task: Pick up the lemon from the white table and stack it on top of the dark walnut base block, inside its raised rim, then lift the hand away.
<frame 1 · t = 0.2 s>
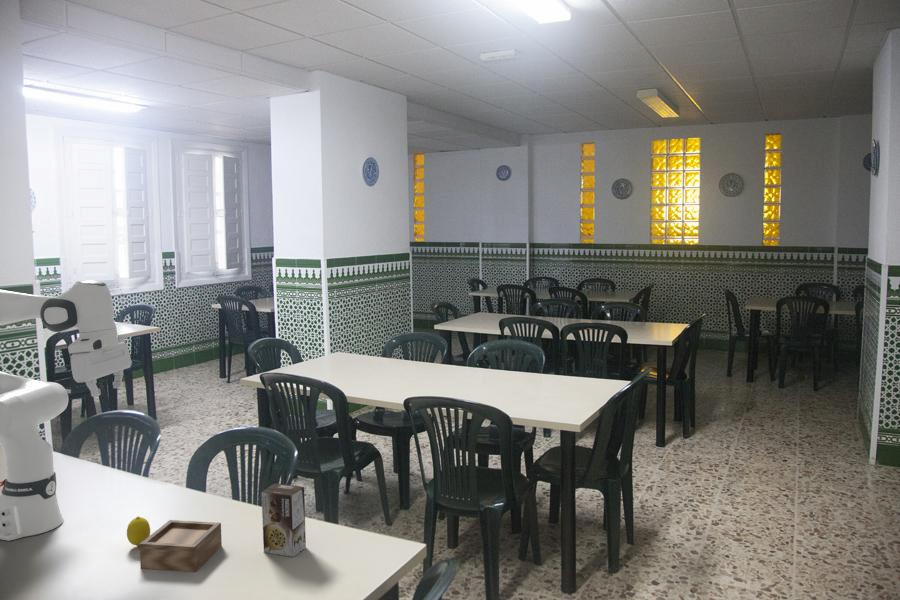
hand: (107, 391, 185), 39 cm above the table, tool pointing down, fingers open, 8 cm apart
lemon: (139, 547, 179), on the table
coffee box: (284, 550, 178), on the table
walnut base: (182, 556, 174), on the table
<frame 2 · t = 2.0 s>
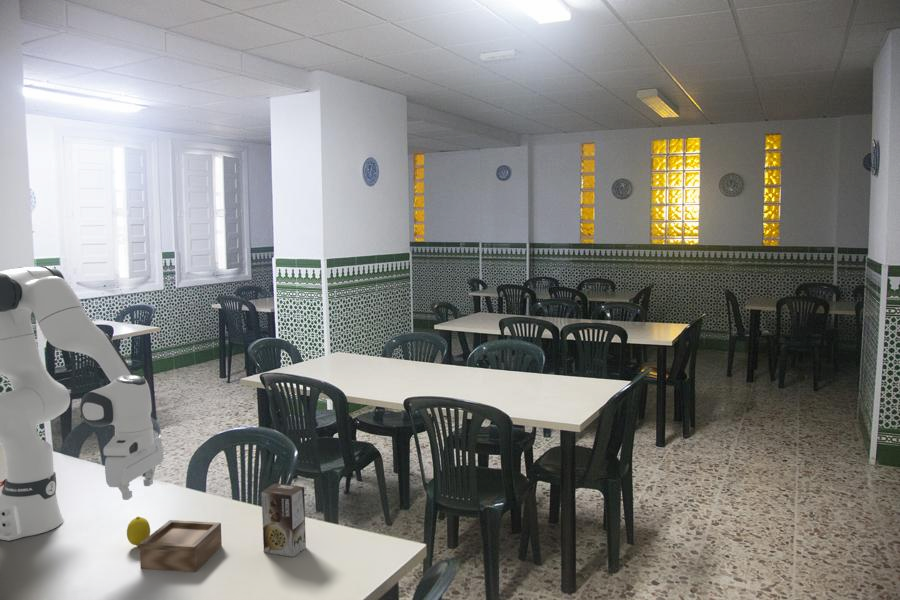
hand: (138, 491, 178), 15 cm above the table, tool pointing down, fingers open, 8 cm apart
nothing on the table moved.
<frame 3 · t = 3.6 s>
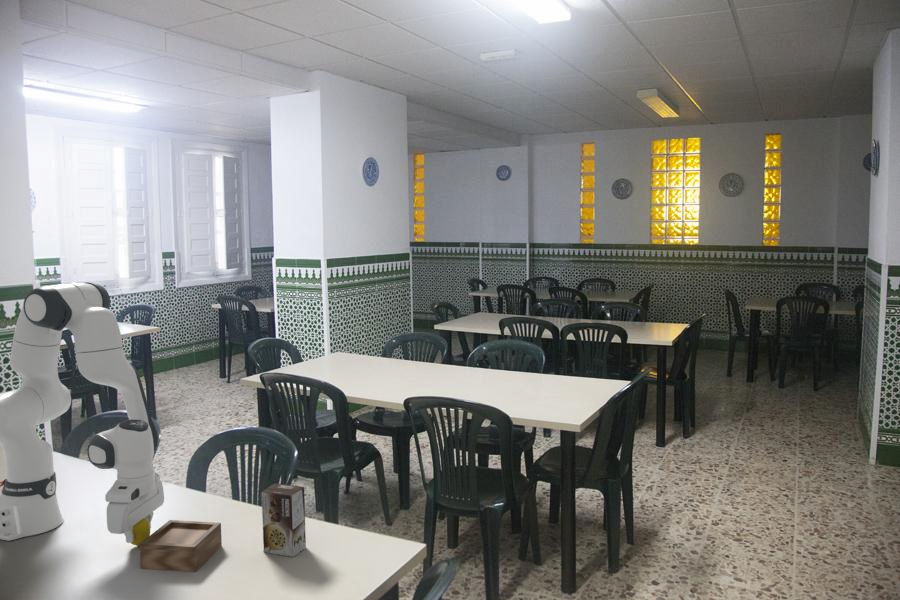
hand: (138, 535, 179), 3 cm above the table, tool pointing down, fingers closed on lemon, 6 cm apart
lemon: (139, 547, 179), on the table, touching gripper
everything else where it was.
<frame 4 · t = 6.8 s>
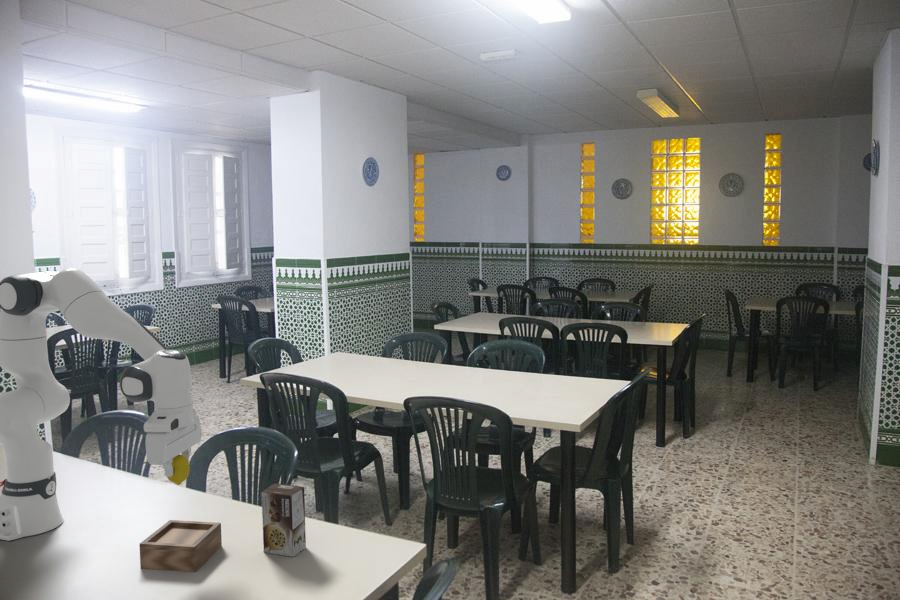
hand: (177, 470, 172), 22 cm above the table, tool pointing down, fingers closed on lemon, 6 cm apart
lemon: (178, 485, 172), point 18 cm above the table, touching gripper
everything else where it was.
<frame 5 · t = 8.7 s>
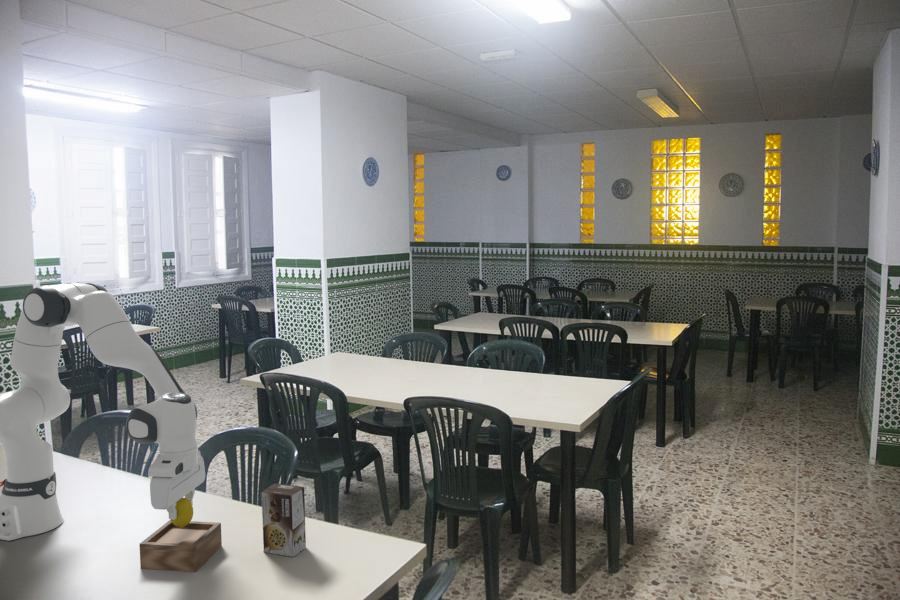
hand: (181, 512, 173), 11 cm above the table, tool pointing down, fingers closed on lemon, 6 cm apart
lemon: (182, 528, 173), point 7 cm above the table, touching gripper
everything else where it was.
when the fingers open (9 cm above the table, at t = 10.0 s): lemon stays where it is, resting on walnut base.
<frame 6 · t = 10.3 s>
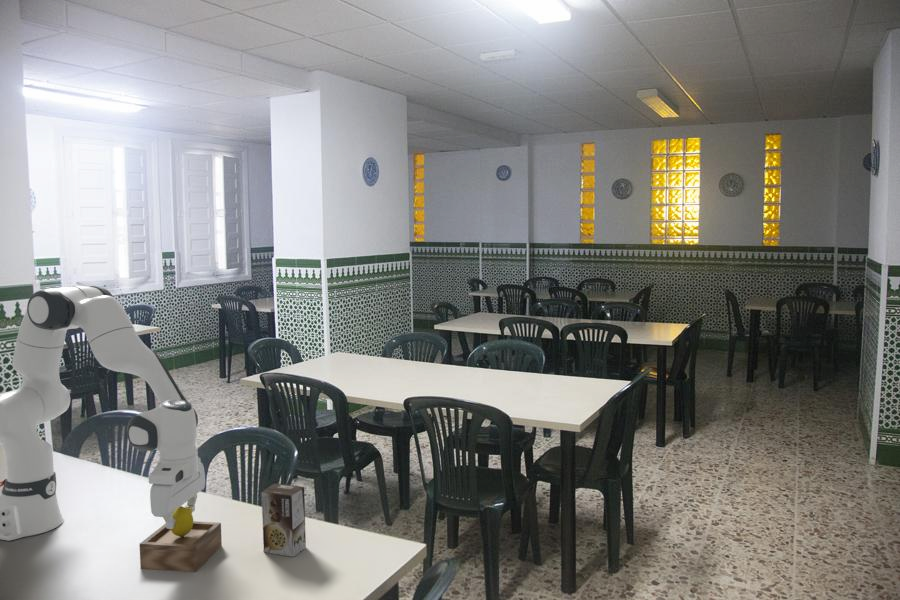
hand: (181, 519, 173), 10 cm above the table, tool pointing down, fingers open, 8 cm apart
lemon: (182, 538, 173), point 5 cm above the table, touching walnut base
everything else where it was.
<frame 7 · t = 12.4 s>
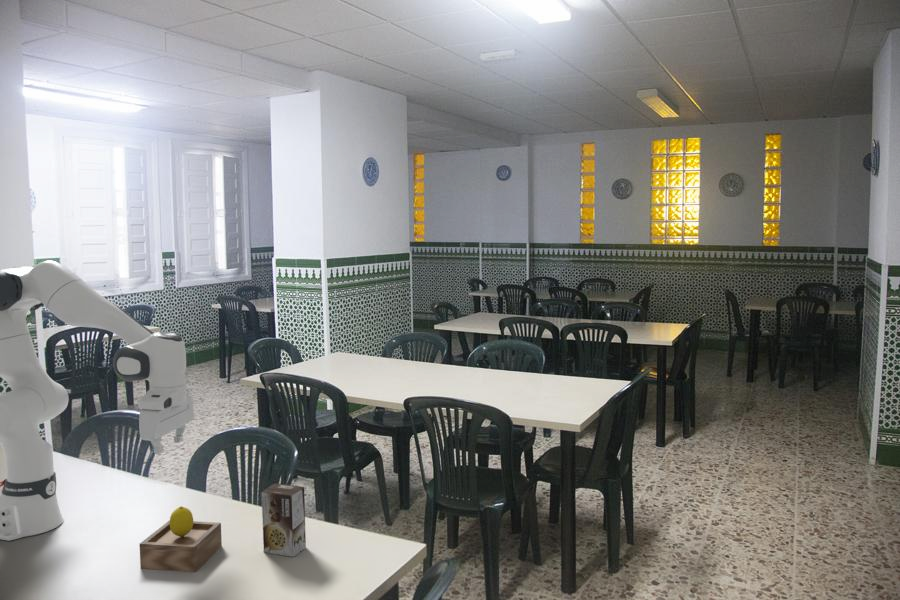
hand: (168, 447, 180), 25 cm above the table, tool pointing down, fingers open, 8 cm apart
nothing on the table moved.
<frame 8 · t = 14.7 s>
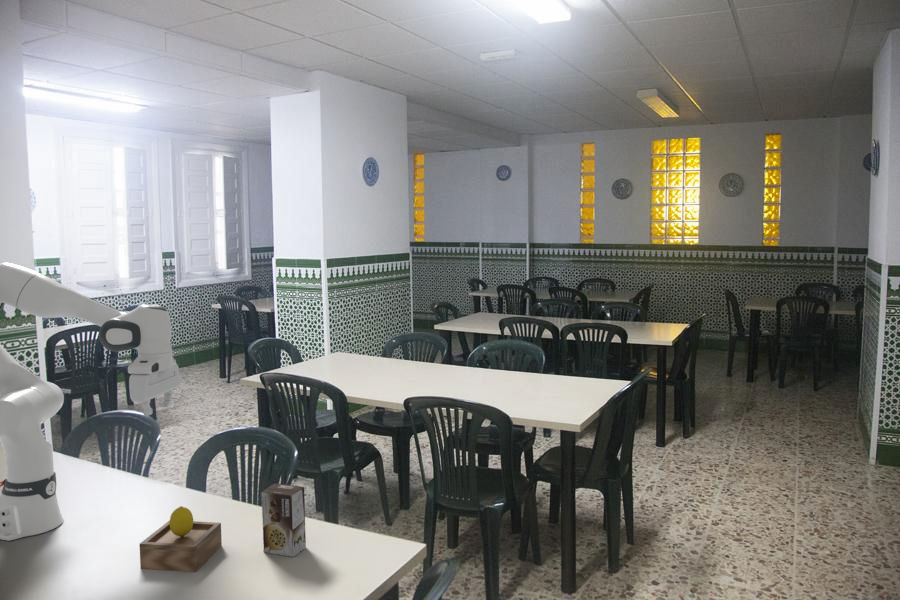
hand: (157, 410, 195), 31 cm above the table, tool pointing down, fingers open, 8 cm apart
nothing on the table moved.
at the end: lemon inside the target area on the walnut base (0.1 cm from its centre), point 4.8 cm above the walnut base's base; lemon touching walnut base; the gripper is holding nothing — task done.
